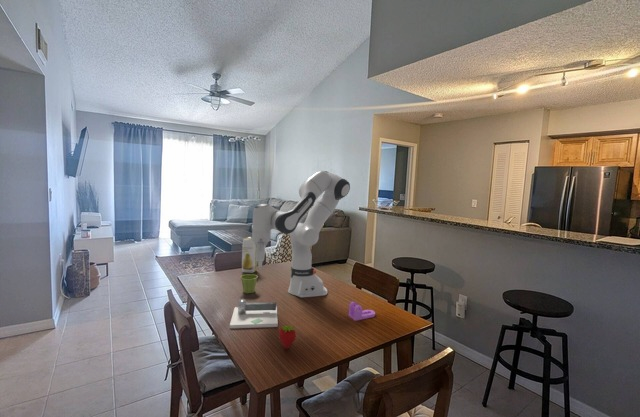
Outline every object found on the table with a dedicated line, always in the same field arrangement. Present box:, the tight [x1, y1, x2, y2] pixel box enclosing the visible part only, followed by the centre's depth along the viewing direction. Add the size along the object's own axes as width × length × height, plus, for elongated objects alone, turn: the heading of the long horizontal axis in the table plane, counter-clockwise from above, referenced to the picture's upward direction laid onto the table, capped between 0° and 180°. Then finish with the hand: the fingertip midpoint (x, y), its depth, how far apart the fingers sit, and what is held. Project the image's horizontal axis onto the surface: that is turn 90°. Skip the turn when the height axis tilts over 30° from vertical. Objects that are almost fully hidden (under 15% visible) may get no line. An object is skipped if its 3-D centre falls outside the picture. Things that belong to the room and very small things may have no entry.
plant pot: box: [240, 273, 259, 294], centre depth 168 cm, size 9×9×9 cm
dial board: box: [229, 305, 279, 329], centre depth 136 cm, size 20×18×2 cm
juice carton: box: [241, 236, 258, 274], centre depth 203 cm, size 9×8×24 cm
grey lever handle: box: [237, 298, 277, 314], centre depth 138 cm, size 17×4×6 cm, turn 99°
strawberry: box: [278, 322, 297, 350], centre depth 113 cm, size 6×8×10 cm
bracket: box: [348, 301, 376, 322], centre depth 144 cm, size 13×6×7 cm, turn 118°
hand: (260, 265), depth 147 cm, fingers open, 8 cm apart
